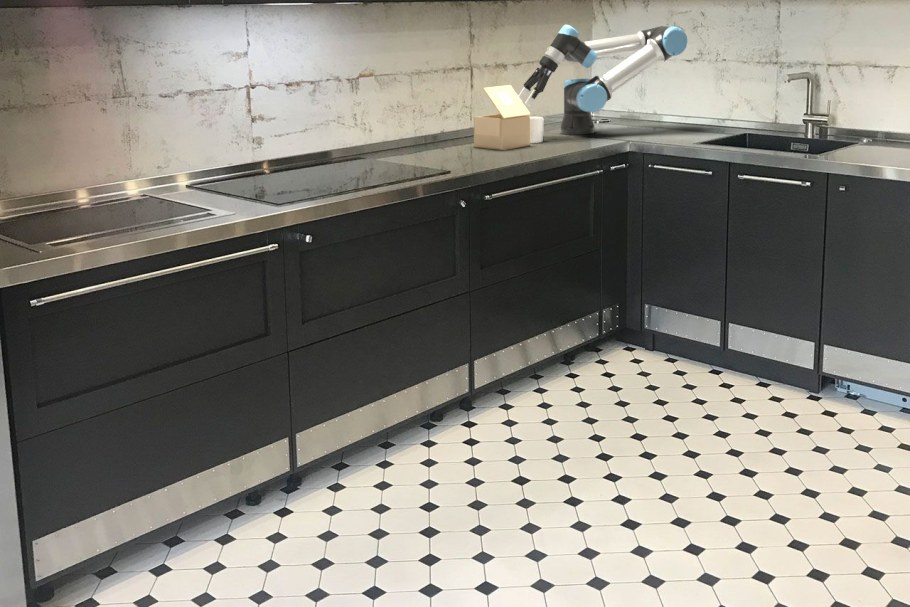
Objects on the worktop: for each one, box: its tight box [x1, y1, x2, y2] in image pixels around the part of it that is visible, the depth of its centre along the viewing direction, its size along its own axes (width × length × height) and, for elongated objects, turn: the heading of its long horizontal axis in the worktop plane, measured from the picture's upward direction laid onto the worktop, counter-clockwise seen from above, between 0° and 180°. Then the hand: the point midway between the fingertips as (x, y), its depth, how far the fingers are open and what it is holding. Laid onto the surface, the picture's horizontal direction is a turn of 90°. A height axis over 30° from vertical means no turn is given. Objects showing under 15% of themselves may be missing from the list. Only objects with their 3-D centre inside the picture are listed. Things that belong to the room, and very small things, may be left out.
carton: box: [473, 113, 531, 151], centre depth 415 cm, size 16×17×12 cm
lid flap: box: [482, 84, 531, 119], centre depth 409 cm, size 16×15×1 cm
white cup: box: [530, 116, 545, 144], centre depth 425 cm, size 8×8×10 cm
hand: (522, 103), depth 428 cm, fingers open, 13 cm apart
